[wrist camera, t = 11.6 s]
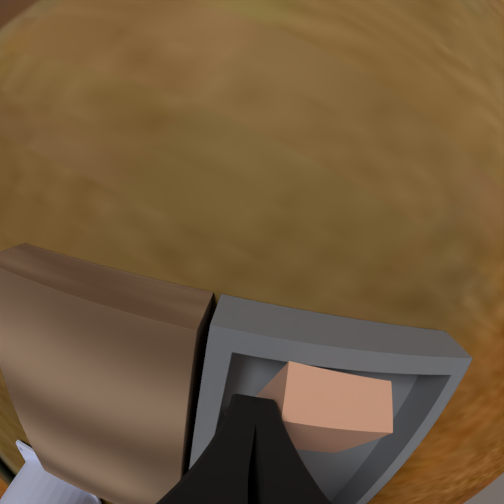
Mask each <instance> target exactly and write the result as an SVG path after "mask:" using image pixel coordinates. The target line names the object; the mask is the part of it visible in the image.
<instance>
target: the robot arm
mask: <svg viewBox="0 0 504 504" xmlns="http://www.w3.org/2000/svg"><path fill="white" fill-rule="evenodd" d="M16 445H17V447H18V448H19V450H20V452H21V454H22V456H23V457H24V459H25V461H26V463H25V464H24V465H23V467H22V468H21V470H20V471H19V473H18V474H17V476H16V477H15V478H14V480H13V481H12V483H11V484H10V486H9V487H8V489H7V490H6V492H5V493H4V495H3V496H2V498H1V499H0V504H102V503H101V501H100V499H99V497H97V496H95V495H92V494H90V493H88V492H86V491H83V490H81V489H79V488H77V487H75V486H73V485H71V484H69V483H67V482H65V481H63V480H61V479H59V478H57V477H55V476H54V475H52V474H50V473H48V472H46V471H45V470H44V469H43V467H42V465H41V463H40V462H39V460H38V458H37V456H36V454H35V452H34V450H33V448H31V447H29V446H28V445H26V444H24V443H23V442H21V441H20V440H17V441H16ZM156 504H332V503H331V502H330V501H329V500H328V498H327V497H326V496H325V495H324V493H323V492H322V491H321V489H320V488H319V486H318V485H317V484H316V482H315V481H314V479H313V478H312V476H311V474H310V473H309V471H308V470H307V468H306V466H305V465H304V463H303V461H302V459H301V458H300V456H299V454H298V452H297V450H296V448H295V446H294V444H293V442H292V440H291V438H290V436H289V434H288V432H287V430H286V427H285V425H284V423H283V420H282V418H281V415H280V413H279V410H278V407H277V404H276V402H275V401H274V399H267V398H260V397H254V396H248V395H243V394H237V393H236V394H233V395H232V396H231V400H230V404H229V407H228V410H227V412H226V415H225V417H224V419H223V421H222V423H221V425H220V426H219V428H218V430H217V431H216V433H215V435H214V436H213V438H212V440H211V441H210V443H209V444H208V446H207V447H206V449H205V450H204V451H203V453H202V454H201V455H200V457H199V458H198V459H197V461H196V462H195V463H194V465H193V466H192V467H191V468H190V469H189V471H188V472H187V473H186V474H185V475H184V476H183V477H182V479H181V480H180V481H179V482H178V483H177V484H176V485H175V486H174V487H173V488H172V489H171V490H170V491H169V492H168V493H167V494H166V495H165V496H164V497H163V498H161V499H160V500H159V501H158V502H157V503H156Z"/></svg>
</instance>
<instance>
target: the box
mask: <svg viewBox="0 0 504 504" xmlns="http://www.w3.org/2000/svg"><path fill="white" fill-rule="evenodd" d="M472 359H473V358H472V357H471V356H470V355H469V354H468V353H467V352H466V351H465V350H464V349H463V348H462V347H461V346H460V345H459V344H458V343H457V342H456V341H455V340H454V339H453V338H452V337H451V336H450V335H449V334H448V333H447V332H446V331H439V330H431V329H423V328H415V327H407V326H400V325H393V324H386V323H379V322H372V321H366V320H359V319H353V318H346V317H340V316H334V315H328V314H322V313H316V312H311V311H305V310H300V309H294V308H289V307H283V306H278V305H273V304H268V303H262V302H257V301H252V300H247V299H243V298H238V297H233V296H228V295H223V294H221V296H220V299H219V302H218V304H217V307H216V310H215V313H214V315H213V318H212V321H211V324H210V329H209V335H208V341H207V347H206V353H205V360H204V366H203V373H202V379H201V386H200V393H199V400H198V407H197V414H196V421H195V428H194V435H193V443H192V451H191V458H190V466H189V469H190V468H191V467H192V466H193V465H194V463H195V462H196V461H197V459H198V458H199V457H200V455H201V454H202V453H203V451H204V450H205V449H206V447H207V446H208V444H209V443H210V441H211V440H212V438H213V436H214V435H215V433H216V431H217V430H218V428H219V426H220V425H221V423H222V421H223V419H224V416H225V413H226V412H227V410H228V407H229V404H230V400H231V396H232V395H233V394H236V393H237V394H243V395H248V396H254V397H255V396H256V395H257V394H258V393H259V392H260V391H261V390H262V389H263V388H264V387H265V386H266V385H267V384H268V383H269V382H270V381H271V380H272V379H273V378H274V377H275V376H276V374H277V373H278V372H279V371H280V370H281V369H282V368H283V367H284V366H285V365H286V364H287V363H288V362H289V361H292V362H296V363H300V364H304V365H309V366H313V367H318V368H322V369H327V370H332V371H336V372H341V373H347V374H352V375H357V376H363V377H368V378H374V379H380V380H386V381H391V386H392V408H393V433H391V434H389V435H386V436H383V437H381V438H378V439H375V440H373V441H370V442H367V443H364V444H361V445H358V446H355V447H352V448H349V449H346V450H343V451H340V452H336V453H329V452H318V451H309V450H300V449H296V450H297V452H298V454H299V456H300V458H301V459H302V461H303V463H304V465H305V466H306V468H307V470H308V471H309V473H310V474H311V476H312V478H313V479H314V481H315V482H316V484H317V485H318V486H319V488H320V489H321V491H322V492H323V493H324V495H325V496H326V497H327V498H328V500H329V501H330V502H331V503H332V504H367V503H368V502H369V501H370V500H371V499H372V498H373V497H374V496H375V495H376V494H377V493H378V492H379V491H380V490H381V489H382V487H383V486H384V485H385V484H386V483H387V482H388V481H389V480H390V479H391V478H392V477H393V475H394V474H395V473H396V472H397V471H398V470H399V469H400V467H401V466H402V465H403V464H404V463H405V461H406V460H407V459H408V458H409V456H410V455H411V454H412V453H413V451H414V450H415V449H416V448H417V446H418V445H419V444H420V442H421V441H422V440H423V438H424V437H425V436H426V434H427V433H428V431H429V430H430V429H431V427H432V426H433V424H434V423H435V421H436V420H437V419H438V417H439V416H440V414H441V412H442V411H443V409H444V408H445V406H446V405H447V403H448V401H449V400H450V398H451V397H452V395H453V393H454V392H455V390H456V388H457V386H458V385H459V383H460V381H461V379H462V378H463V376H464V374H465V372H466V370H467V368H468V367H469V365H470V363H471V361H472Z"/></svg>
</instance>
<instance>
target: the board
mask: <svg viewBox="0 0 504 504" xmlns="http://www.w3.org/2000/svg"><path fill="white" fill-rule="evenodd" d="M212 298H213V292H209V291H205V290H200V289H196V288H191V287H187V286H183V285H178V284H174V283H170V282H165V281H161V280H157V279H153V278H149V277H145V276H141V275H137V274H133V273H129V272H125V271H121V270H117V269H113V268H109V267H106V266H102V265H98V264H94V263H91V262H87V261H83V260H80V259H76V258H73V257H69V256H66V255H62V254H59V253H55V252H52V251H48V250H45V249H42V248H38V247H35V246H32V245H29V244H25V243H23V244H20V245H18V246H15V247H12V248H9V249H7V250H4V251H1V252H0V366H1V369H2V373H3V376H4V379H5V382H6V385H7V388H8V391H9V394H10V397H11V399H12V402H13V405H14V407H15V410H16V412H17V415H18V417H19V420H20V422H21V424H22V427H23V429H24V431H25V433H26V435H27V438H28V440H29V442H30V444H31V446H32V448H33V450H34V452H35V454H36V456H37V458H38V460H39V462H40V463H41V465H42V467H43V469H44V470H45V471H46V472H48V473H50V474H52V475H54V476H55V477H57V478H59V479H61V480H63V481H65V482H67V483H69V484H71V485H73V486H75V487H77V488H79V489H81V490H83V491H86V492H88V493H90V494H92V495H95V496H97V497H99V498H102V499H104V500H107V501H109V502H112V503H114V504H156V503H157V502H158V501H159V500H160V499H161V498H163V497H164V496H165V495H166V494H167V493H168V492H169V491H170V490H171V489H172V488H173V487H174V486H175V485H176V484H177V483H178V482H179V481H180V480H181V479H182V477H183V476H184V475H185V474H186V473H187V471H188V463H189V455H190V446H191V438H192V431H193V423H194V416H195V408H196V401H197V394H198V387H199V380H200V373H201V366H202V360H203V353H204V347H205V340H206V334H207V328H208V322H209V316H210V309H211V303H212Z"/></svg>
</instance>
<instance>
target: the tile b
mask: <svg viewBox="0 0 504 504" xmlns="http://www.w3.org/2000/svg"><path fill="white" fill-rule="evenodd" d="M255 397H260V398H267V399H274V401H275V402H276V404H277V407H278V410H279V413H280V415H281V418H282V420H283V423H284V425H285V427H286V430H287V432H288V434H289V436H290V438H291V440H292V442H293V444H294V446H295V448H296V449H300V450H309V451H318V452H329V453H336V452H340V451H343V450H346V449H349V448H352V447H355V446H358V445H361V444H364V443H367V442H370V441H373V440H375V439H378V438H381V437H383V436H386V435H389V434H391V433H393V408H392V386H391V381H386V380H380V379H374V378H368V377H363V376H357V375H352V374H347V373H341V372H336V371H332V370H327V369H322V368H318V367H313V366H309V365H304V364H300V363H296V362H292V361H289V362H288V363H287V364H286V365H285V366H284V367H283V368H282V369H281V370H280V371H279V372H278V373H277V374H276V376H275V377H274V378H273V379H272V380H271V381H270V382H269V383H268V384H267V385H266V386H265V387H264V388H263V389H262V390H261V391H260V392H259V393H258V394H257V395H256V396H255Z"/></svg>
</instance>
